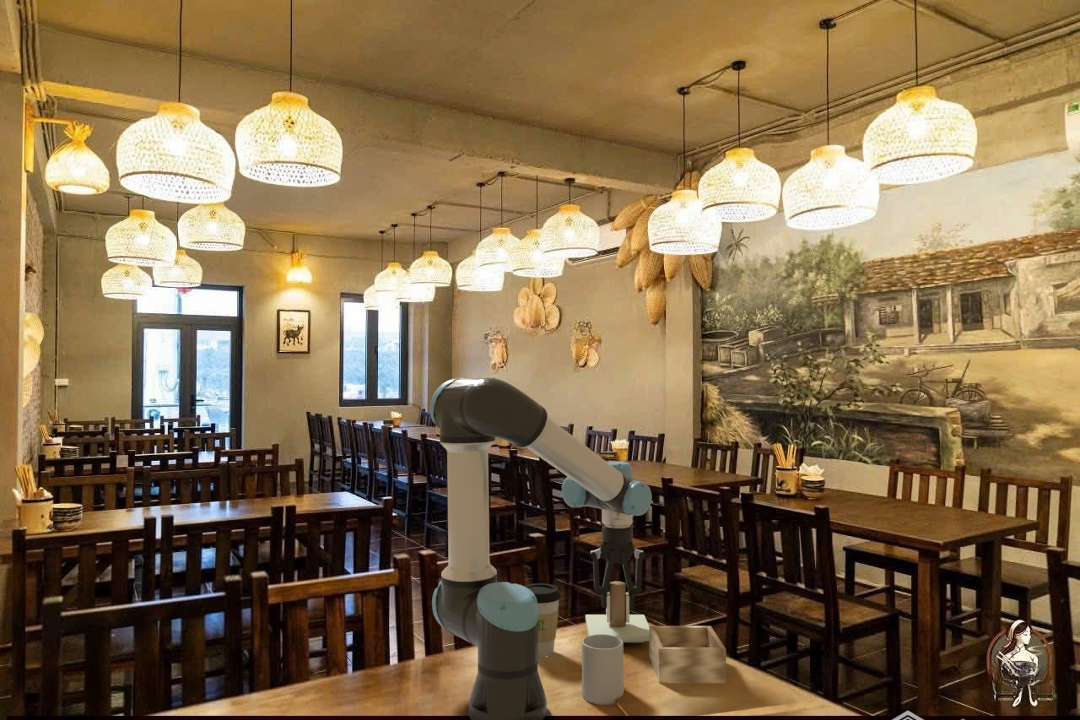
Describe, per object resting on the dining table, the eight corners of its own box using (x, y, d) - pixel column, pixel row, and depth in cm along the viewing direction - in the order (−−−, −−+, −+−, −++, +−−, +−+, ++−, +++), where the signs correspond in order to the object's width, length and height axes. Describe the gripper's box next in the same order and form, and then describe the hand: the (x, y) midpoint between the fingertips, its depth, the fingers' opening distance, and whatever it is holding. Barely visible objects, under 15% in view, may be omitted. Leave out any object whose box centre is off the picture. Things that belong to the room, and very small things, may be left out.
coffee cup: (514, 647, 171) (514, 584, 172) (553, 642, 174) (553, 581, 175) (525, 663, 162) (525, 596, 162) (566, 658, 165) (566, 592, 165)
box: (659, 687, 149) (658, 649, 149) (649, 661, 163) (649, 625, 163) (726, 687, 149) (725, 649, 149) (710, 661, 163) (710, 625, 163)
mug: (625, 705, 141) (625, 649, 141) (582, 705, 141) (582, 649, 141) (620, 680, 153) (620, 628, 153) (580, 679, 153) (580, 628, 153)
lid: (589, 645, 168) (588, 592, 168) (585, 623, 183) (585, 575, 183) (652, 645, 167) (652, 592, 168) (644, 623, 182) (643, 575, 183)
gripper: (583, 528, 172) (583, 626, 171) (654, 528, 172) (654, 626, 171) (581, 521, 180) (582, 615, 179) (649, 522, 179) (650, 615, 179)
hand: (617, 620), depth 175 cm, fingers closed on lid, 4 cm apart
